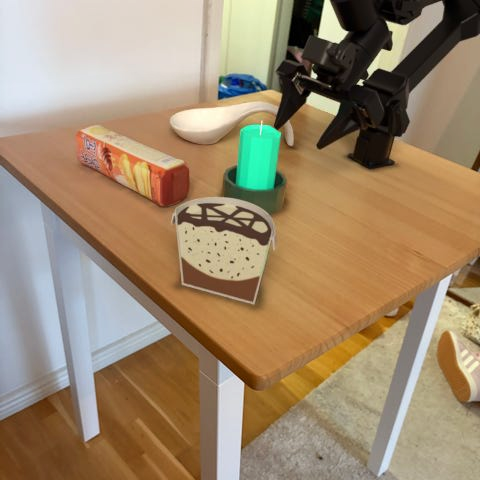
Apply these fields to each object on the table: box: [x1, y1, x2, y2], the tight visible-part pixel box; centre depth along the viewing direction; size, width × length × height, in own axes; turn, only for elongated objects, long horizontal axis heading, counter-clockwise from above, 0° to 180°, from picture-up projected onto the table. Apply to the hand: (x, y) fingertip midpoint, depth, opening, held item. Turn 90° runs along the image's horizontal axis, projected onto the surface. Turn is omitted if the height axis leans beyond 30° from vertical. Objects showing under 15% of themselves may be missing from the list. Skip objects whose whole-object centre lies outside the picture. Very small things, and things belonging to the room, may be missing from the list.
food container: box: [170, 196, 278, 306], centre depth 63 cm, size 12×6×10 cm, turn 71°
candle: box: [236, 120, 282, 189], centre depth 79 cm, size 6×6×12 cm
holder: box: [221, 164, 288, 215], centre depth 82 cm, size 10×10×4 cm
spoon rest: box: [169, 100, 295, 147], centre depth 100 cm, size 24×12×7 cm, turn 95°
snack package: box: [75, 124, 191, 208], centre depth 83 cm, size 21×7×7 cm, turn 48°
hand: (295, 137), depth 82 cm, fingers open, 9 cm apart
